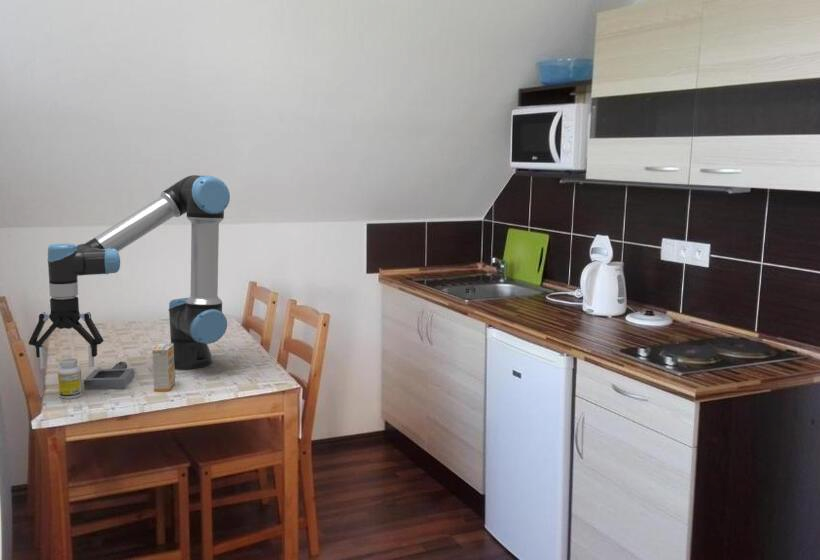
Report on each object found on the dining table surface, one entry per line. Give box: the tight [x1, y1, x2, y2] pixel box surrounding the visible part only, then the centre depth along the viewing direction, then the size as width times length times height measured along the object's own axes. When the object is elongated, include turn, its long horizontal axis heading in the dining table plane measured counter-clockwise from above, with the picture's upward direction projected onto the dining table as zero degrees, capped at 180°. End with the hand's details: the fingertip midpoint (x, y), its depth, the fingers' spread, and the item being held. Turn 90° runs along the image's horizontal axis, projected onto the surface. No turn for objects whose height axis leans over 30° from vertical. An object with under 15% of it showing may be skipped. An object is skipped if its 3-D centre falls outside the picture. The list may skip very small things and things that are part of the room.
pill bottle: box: [57, 357, 83, 400], centre depth 221 cm, size 6×6×11 cm
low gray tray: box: [83, 361, 135, 391], centre depth 240 cm, size 22×12×3 cm, turn 7°
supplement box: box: [151, 343, 176, 392], centre depth 230 cm, size 8×5×13 cm, turn 5°
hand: (67, 367), depth 221 cm, fingers open, 13 cm apart
